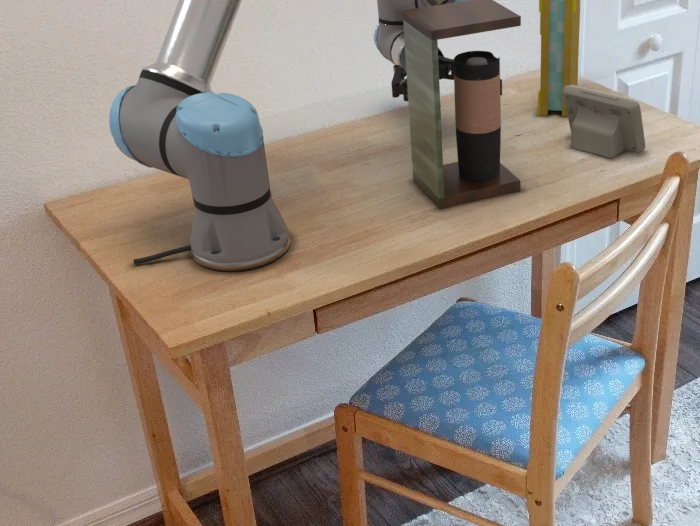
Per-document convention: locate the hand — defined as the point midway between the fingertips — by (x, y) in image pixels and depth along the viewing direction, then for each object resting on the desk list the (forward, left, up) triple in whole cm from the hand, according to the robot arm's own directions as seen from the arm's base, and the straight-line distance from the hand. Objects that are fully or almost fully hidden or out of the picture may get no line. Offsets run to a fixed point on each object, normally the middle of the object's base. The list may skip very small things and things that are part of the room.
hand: (464, 94), depth 171 cm
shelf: (-2, -5, -14) cm, 15 cm away
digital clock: (+27, -1, -14) cm, 31 cm away
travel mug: (0, -5, -12) cm, 13 cm away
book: (+31, +22, -14) cm, 41 cm away
